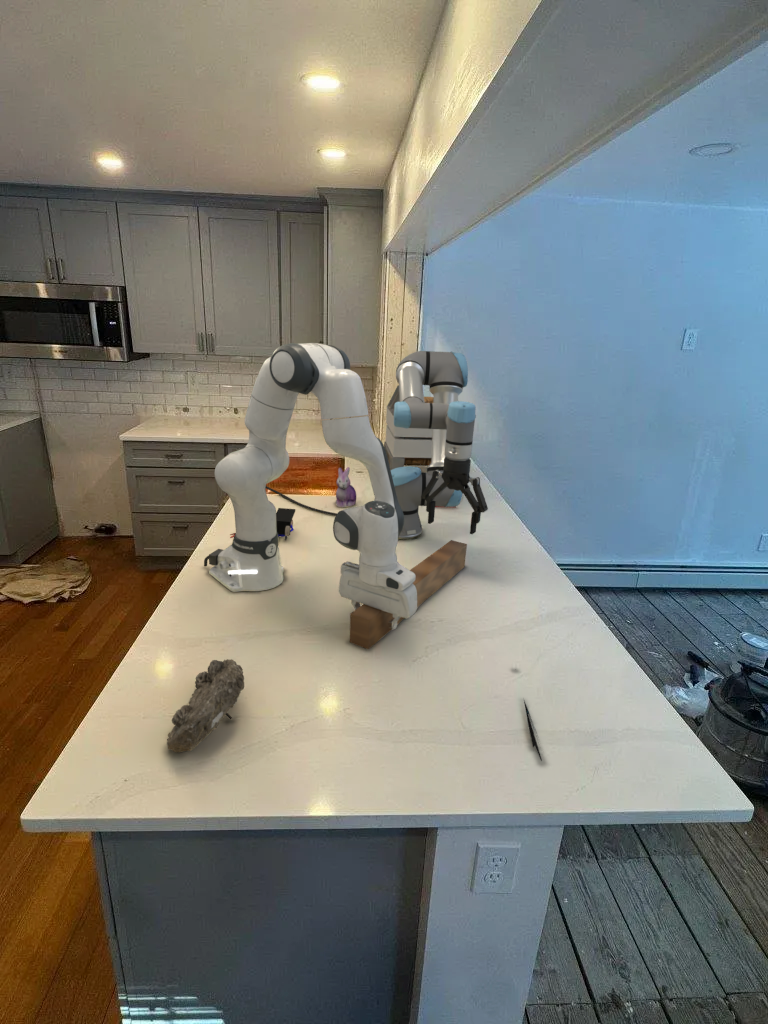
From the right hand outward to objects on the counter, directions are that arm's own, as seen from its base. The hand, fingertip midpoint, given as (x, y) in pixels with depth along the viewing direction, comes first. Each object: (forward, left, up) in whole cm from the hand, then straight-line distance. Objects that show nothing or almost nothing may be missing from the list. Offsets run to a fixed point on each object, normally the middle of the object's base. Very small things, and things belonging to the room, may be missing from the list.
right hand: (451, 527), depth 167 cm
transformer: (-84, +70, -15) cm, 110 cm away
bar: (+6, -20, -15) cm, 25 cm away
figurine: (-67, +12, -15) cm, 70 cm away
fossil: (+17, -83, -15) cm, 86 cm away
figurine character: (-53, -25, -15) cm, 61 cm away
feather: (+54, -34, -15) cm, 65 cm away
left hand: (+13, -39, -12) cm, 43 cm away
